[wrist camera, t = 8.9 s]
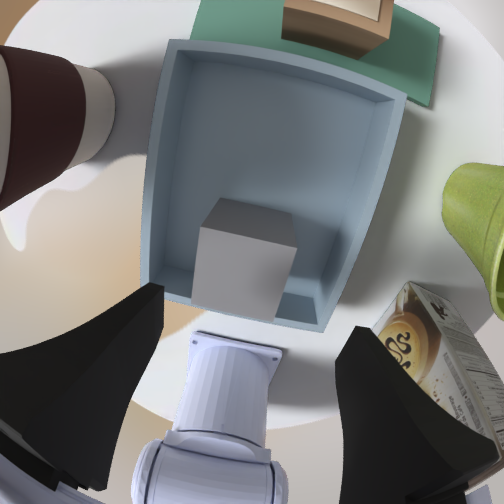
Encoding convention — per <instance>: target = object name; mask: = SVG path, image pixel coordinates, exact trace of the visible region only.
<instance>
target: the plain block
mask: <svg viewBox="0 0 504 504" xmlns="http://www.w3.org/2000/svg"><path fill="white" fill-rule="evenodd" d="M296 251H297V243H296V237H295V231H294V226H293V220H292V214H291V213H287V212H283V211H279V210H275V209H270V208H266V207H262V206H257V205H253V204H248V203H244V202H239V201H235V200H230V199H225V198H219V200H218V201H217V203H216V204H215V206H214V207H213V209H212V210H211V212H210V213H209V214H208V216H207V217H206V219H205V220H204V222H203V223H202V225H201V226H200V233H199V240H198V247H197V255H196V263H195V271H194V279H193V288H192V297H191V304H194V305H198V306H202V307H206V308H210V309H214V310H219V311H223V312H227V313H232V314H236V315H241V316H246V317H251V318H255V319H260V320H265V321H270V322H273V321H274V318H275V315H276V312H277V309H278V306H279V303H280V300H281V297H282V294H283V291H284V288H285V285H286V282H287V279H288V276H289V273H290V270H291V267H292V264H293V260H294V257H295V254H296Z"/></svg>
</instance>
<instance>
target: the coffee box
mask: <svg viewBox="0 0 504 504" xmlns="http://www.w3.org/2000/svg"><path fill="white" fill-rule="evenodd" d="M372 331H373V332H374V334H375V335H376V336H377V337H378V338H379V339H380V341H381V342H382V343H383V344H384V345H385V347H386V348H387V349H388V350H389V351H390V353H391V354H392V355H393V356H394V358H395V359H396V360H397V361H398V362H399V364H400V365H401V366H402V367H403V368H404V370H405V371H406V372H407V373H408V374H409V375H410V376H411V378H412V379H413V380H414V381H415V382H416V383H417V384H418V385H419V386H420V387H421V388H422V389H423V390H424V392H425V393H427V394H428V395H429V396H430V397H431V398H432V399H433V400H434V401H435V402H436V403H437V404H438V405H439V406H441V407H442V408H443V409H444V410H445V411H447V412H448V413H449V414H450V415H452V416H453V417H454V418H456V419H457V420H459V421H460V422H461V423H463V424H464V425H466V426H467V427H469V428H471V429H472V430H474V431H476V432H477V433H479V434H481V435H483V436H485V437H487V438H489V439H491V440H493V441H494V442H495V445H496V447H497V450H498V453H499V456H500V457H499V460H498V461H497V462H496V463H495V464H493V465H492V466H491V467H489V468H488V469H487V470H485V471H484V472H482V473H481V474H479V475H478V476H476V477H474V478H473V479H471V480H470V481H468V484H469V488H468V489H467V490H465V491H464V492H466V491H468V490H470V489H472V488H473V487H475V486H477V485H478V484H480V483H482V482H483V481H485V480H486V479H488V478H489V477H491V476H493V475H494V474H495V473H497V472H498V471H500V470H501V469H502V468H504V384H503V382H502V380H501V378H500V377H499V375H498V374H497V371H496V370H495V368H494V367H493V365H492V363H491V362H490V360H489V358H488V356H487V355H486V353H485V352H484V350H483V349H482V347H481V345H480V344H479V342H478V341H477V339H476V338H475V337H474V335H473V334H472V332H471V331H470V329H469V328H468V326H467V325H466V323H465V322H464V321H463V319H462V318H461V316H460V315H459V314H458V312H457V311H456V309H455V308H454V307H453V305H452V304H451V303H450V302H449V301H447V300H445V299H444V298H442V297H440V296H438V295H436V294H434V293H432V292H430V291H428V290H426V289H424V288H422V287H420V286H418V285H416V284H414V283H412V282H407V283H406V284H405V285H404V287H403V288H402V290H401V291H400V293H399V294H398V295H397V297H396V298H395V300H394V301H393V302H392V304H391V305H390V307H389V308H388V309H387V311H386V312H385V313H384V315H383V316H382V317H381V319H380V320H379V321H378V323H377V324H376V325H375V327H374V328H373V329H372Z"/></svg>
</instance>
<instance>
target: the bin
mask: <svg viewBox="0 0 504 504" xmlns="http://www.w3.org/2000/svg"><path fill="white" fill-rule="evenodd" d="M406 99H407V94H406V93H404V92H402V91H400V90H397V89H395V88H393V87H391V86H388V85H386V84H384V83H381V82H379V81H376V80H374V79H371V78H369V77H366V76H364V75H361V74H358V73H356V72H353V71H350V70H347V69H344V68H341V67H338V66H335V65H332V64H328V63H325V62H322V61H318V60H315V59H311V58H307V57H303V56H299V55H295V54H291V53H287V52H282V51H277V50H272V49H267V48H261V47H255V46H249V45H242V44H234V43H226V42H216V41H203V40H182V39H169V42H168V46H167V50H166V54H165V58H164V62H163V66H162V71H161V75H160V80H159V85H158V90H157V95H156V100H155V105H154V111H153V117H152V123H151V130H150V137H149V144H148V152H147V160H146V169H145V179H144V191H143V204H142V222H141V251H140V252H141V253H140V255H141V256H140V285H141V287H142V286H144V285H145V284H147V283H149V282H151V283H155V284H158V285H162V286H165V288H164V299H166V300H169V301H173V302H177V303H181V304H185V305H189V306H193V307H197V308H201V309H205V310H209V311H213V312H218V313H222V314H226V315H231V316H235V317H240V318H245V319H249V320H254V321H259V322H264V323H269V324H274V325H280V326H285V327H290V328H296V329H302V330H307V331H313V332H319V333H323V332H324V330H325V328H326V326H327V324H328V322H329V320H330V318H331V315H332V313H333V311H334V309H335V307H336V305H337V303H338V300H339V298H340V296H341V294H342V292H343V289H344V287H345V285H346V283H347V280H348V278H349V276H350V273H351V271H352V268H353V266H354V264H355V261H356V259H357V256H358V254H359V251H360V249H361V246H362V244H363V241H364V239H365V236H366V233H367V231H368V228H369V225H370V222H371V220H372V217H373V214H374V211H375V208H376V206H377V203H378V200H379V197H380V194H381V191H382V188H383V184H384V181H385V178H386V175H387V172H388V168H389V165H390V162H391V158H392V155H393V151H394V148H395V144H396V140H397V136H398V133H399V129H400V125H401V121H402V116H403V112H404V108H405V103H406ZM219 198H225V199H230V200H235V201H239V202H244V203H248V204H253V205H257V206H262V207H266V208H270V209H275V210H279V211H283V212H287V213H291V214H292V220H293V226H294V231H295V237H296V243H297V251H296V254H295V257H294V260H293V264H292V267H291V270H290V273H289V276H288V279H287V282H286V285H285V288H284V291H283V294H282V297H281V300H280V303H279V306H278V309H277V312H276V315H275V318H274V321H273V322H270V321H265V320H260V319H255V318H251V317H246V316H241V315H236V314H232V313H227V312H223V311H219V310H214V309H210V308H206V307H202V306H198V305H194V304H191V297H192V288H193V279H194V271H195V263H196V255H197V247H198V240H199V233H200V226H201V225H202V223H203V222H204V220H205V219H206V217H207V216H208V214H209V213H210V212H211V210H212V209H213V207H214V206H215V204H216V203H217V201H218V200H219Z"/></svg>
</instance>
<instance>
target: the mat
mask: <svg viewBox="0 0 504 504" xmlns="http://www.w3.org/2000/svg"><path fill="white" fill-rule="evenodd" d="M284 3H285V0H201V3H200V6H199V9H198V12H197V15H196V19H195V22H194V25H193V29H192V32H191V36H190V40H203V41H216V42H226V43H234V44H242V45H249V46H255V47H261V48H267V49H272V50H277V51H282V52H287V53H291V54H295V55H299V56H303V57H307V58H311V59H315V60H318V61H322V62H325V63H328V64H332V65H335V66H338V67H341V68H344V69H347V70H350V71H353V72H356V73H358V74H361V75H364V76H366V77H369V78H371V79H374V80H376V81H379V82H381V83H384V84H386V85H388V86H391V87H393V88H395V89H397V90H400V91H402V92H404V93H406V94H407V99H408V100H410V101H412V102H414V103H416V104H418V105H420V106H422V107H428V106H429V101H430V96H431V91H432V85H433V79H434V73H435V66H436V59H437V51H438V42H439V30H440V28H439V27H437V26H436V25H434V24H432V23H431V22H429V21H427V20H425V19H424V18H422V17H420V16H418V15H416V14H414V13H412V12H410V11H408V10H406V9H404V8H402V7H400V6H398V5H396V4H394V5H393V13H392V21H391V28H390V34H389V39H388V40H387V41H385V42H383V43H382V44H380V45H379V46H377V47H376V48H374V49H373V50H371V51H370V52H368V53H367V54H365V55H364V56H362V57H361V58H359V59H358V60H355V59H352V58H349V57H346V56H343V55H340V54H337V53H334V52H330V51H327V50H324V49H320V48H317V47H313V46H309V45H305V44H301V43H297V42H293V41H288V40H283V39H281V32H282V20H283V7H284Z"/></svg>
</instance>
